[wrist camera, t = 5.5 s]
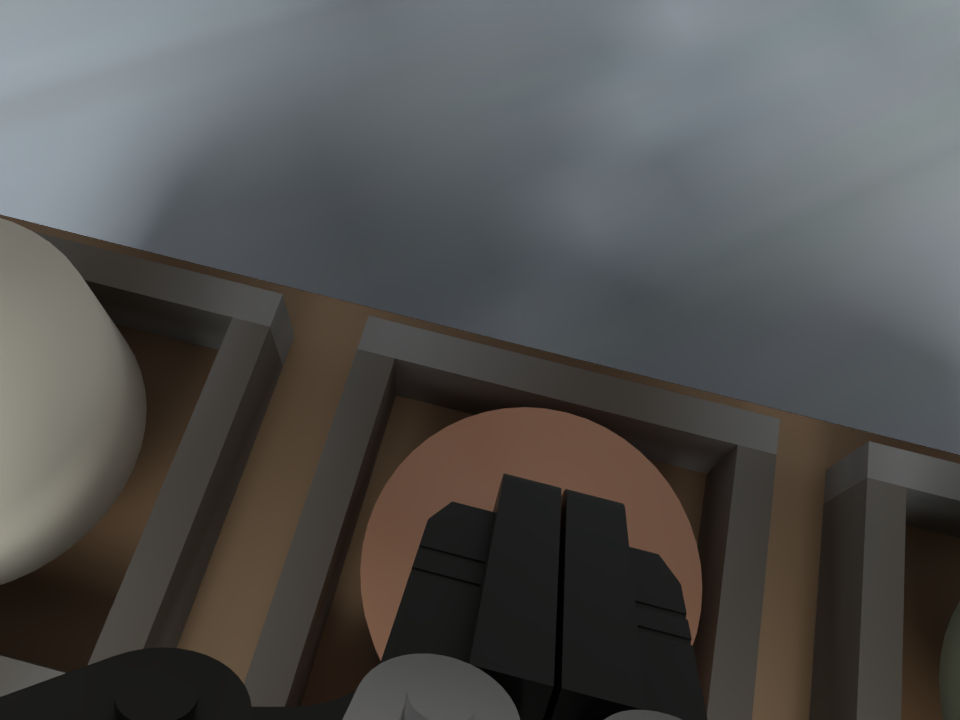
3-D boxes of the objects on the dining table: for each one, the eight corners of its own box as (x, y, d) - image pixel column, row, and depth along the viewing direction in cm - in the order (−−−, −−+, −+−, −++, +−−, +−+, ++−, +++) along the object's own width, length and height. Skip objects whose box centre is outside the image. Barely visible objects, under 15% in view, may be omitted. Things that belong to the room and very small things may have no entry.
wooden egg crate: (-97, 702, 19) (-490, 664, 10) (71, 365, 22) (-125, 141, 14) (985, 994, 18) (1469, 1199, 10) (980, 598, 21) (1331, 503, 13)
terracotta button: (328, 709, 12) (313, 702, 10) (412, 421, 14) (413, 373, 12) (637, 792, 12) (677, 799, 10) (680, 489, 14) (720, 451, 12)
